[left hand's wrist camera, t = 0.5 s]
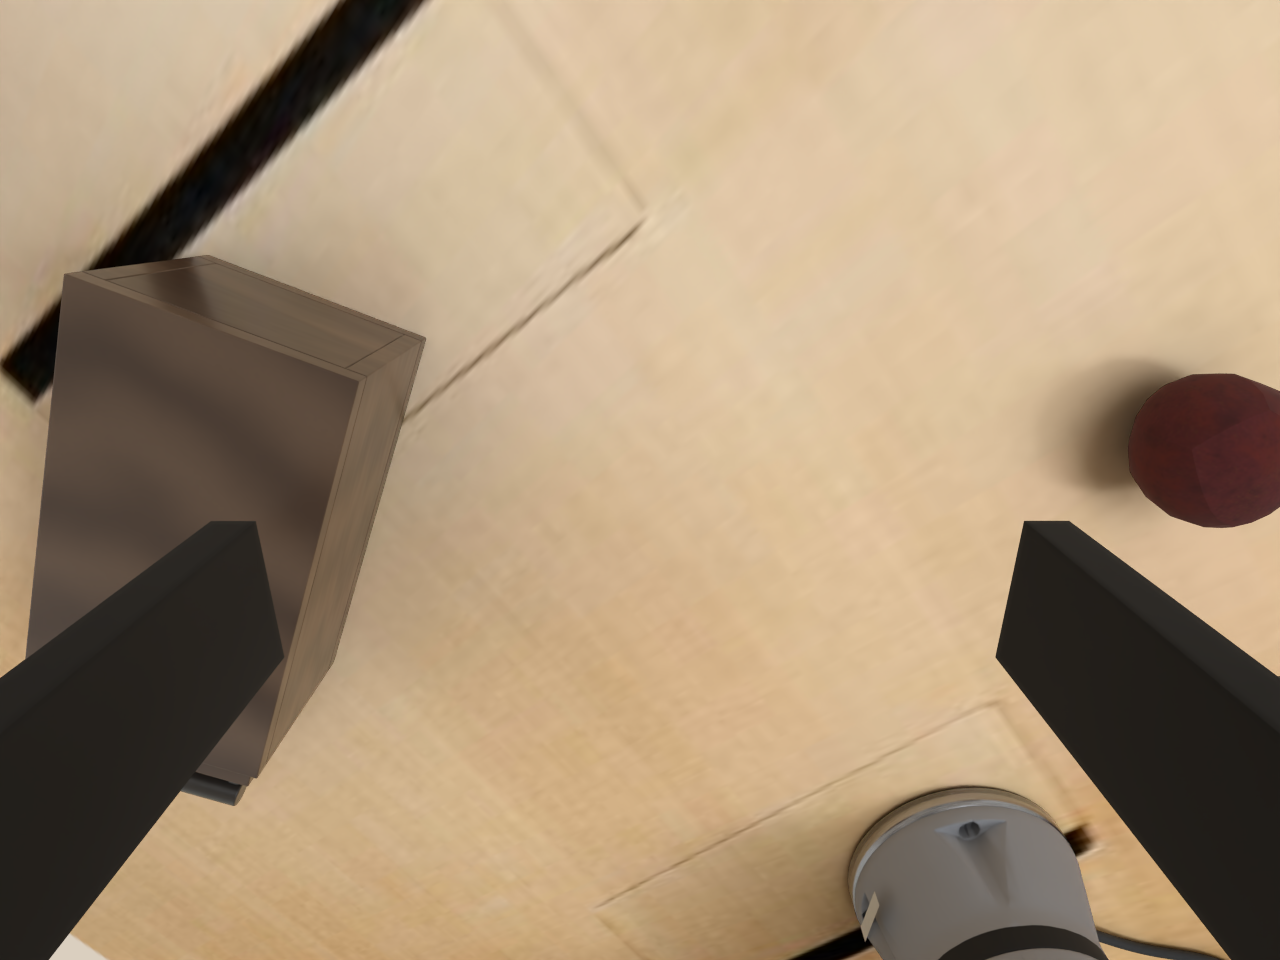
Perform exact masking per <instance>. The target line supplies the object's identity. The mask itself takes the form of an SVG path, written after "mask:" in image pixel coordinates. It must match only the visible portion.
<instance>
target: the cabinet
mask: <svg viewBox="0 0 1280 960" xmlns="http://www.w3.org/2000/svg"><path fill="white" fill-rule="evenodd" d="M425 341H426V338H425V337H423V336H420V335H417V334H415V333H412V332H409V331H407V330H404V329H402V328H399V327H396V326H394V325H391V324H388V323H386V322H383V321H380V320H378V319H375V318H373V317H370V316H367V315H365V314H362V313H359V312H357V311H354V310H352V309H349V308H346V307H344V306H341V305H338V304H336V303H333V302H330V301H328V300H325V299H323V298H320V297H317V296H315V295H312V294H309V293H307V292H304V291H301V290H299V289H296V288H294V287H291V286H288V285H286V284H283V283H280V282H278V281H275V280H272V279H270V278H267V277H265V276H262V275H259V274H257V273H254V272H251V271H249V270H246V269H244V268H241V267H238V266H236V265H233V264H230V263H228V262H225V261H222V260H220V259H217V258H215V257H212V256H209V255H205V256H198V257H190V258H182V259H174V260H167V261H159V262H151V263H144V264H136V265H128V266H121V267H113V268H106V269H98V270H90V271H83V272H75V273H67V274H64V281H63V291H62V301H61V311H60V321H59V331H58V341H57V351H56V360H55V370H54V380H53V390H52V400H51V410H50V420H49V430H48V440H47V450H46V460H45V470H44V480H43V490H42V500H41V510H40V520H39V529H38V539H37V549H36V559H35V569H34V579H33V589H32V599H31V609H30V619H29V629H28V639H27V649H26V659H27V658H28V657H29V656H31V655H32V654H33V653H35V652H36V651H37V650H39V649H40V648H41V647H43V646H44V645H45V644H47V643H48V642H49V641H51V640H52V639H53V638H55V637H56V636H57V635H59V634H60V633H61V632H63V631H64V630H65V629H67V628H68V627H69V626H71V625H72V624H73V623H75V622H76V621H77V620H79V619H80V618H82V617H83V616H84V615H86V614H87V613H88V612H90V611H91V610H92V609H94V608H95V607H96V606H98V605H99V604H100V603H102V602H103V601H104V600H106V599H107V598H108V597H110V596H111V595H112V594H114V593H115V592H116V591H118V590H119V589H120V588H122V587H123V586H124V585H126V584H127V583H128V582H130V581H131V580H132V579H134V578H135V577H137V576H138V575H139V574H141V573H142V572H143V571H145V570H146V569H147V568H149V567H150V566H151V565H153V564H154V563H155V562H157V561H158V560H159V559H161V558H162V557H163V556H165V555H166V554H167V553H169V552H170V551H171V550H173V549H174V548H175V547H177V546H178V545H179V544H181V543H182V542H183V541H185V540H186V539H187V538H189V537H190V536H192V535H193V534H194V533H196V532H197V531H198V530H200V529H201V528H202V527H204V526H205V525H206V524H208V523H209V522H210V521H256V524H257V529H258V534H259V538H260V543H261V548H262V553H263V557H264V562H265V567H266V572H267V576H268V581H269V586H270V591H271V595H272V600H273V605H274V610H275V614H276V619H277V624H278V629H279V633H280V638H281V643H282V648H283V652H284V659H283V660H282V661H281V662H280V664H279V665H278V666H277V668H276V669H275V670H274V671H273V673H272V674H271V675H270V676H269V678H268V679H267V680H266V682H265V683H264V684H263V685H262V687H261V688H260V689H259V691H258V692H257V693H256V694H255V696H254V697H253V698H252V700H251V701H250V702H249V703H248V705H247V706H246V707H245V709H244V710H243V711H242V712H241V714H240V715H239V716H238V718H237V719H236V720H235V721H234V723H233V724H232V725H231V727H230V728H229V729H228V730H227V732H226V733H225V734H224V735H223V737H222V738H221V739H220V741H219V742H218V743H217V744H216V746H215V747H214V748H213V750H212V751H211V752H210V753H209V755H208V756H207V757H206V759H205V760H204V761H203V762H202V763H204V764H208V765H211V766H214V767H218V768H221V769H225V770H228V771H232V772H235V773H239V774H242V775H246V776H249V777H253V778H257V777H258V776H259V774H260V773H261V771H262V770H263V768H264V767H265V765H266V764H267V762H268V761H269V759H270V758H271V756H272V755H273V753H274V752H275V750H276V749H277V747H278V746H279V744H280V743H281V741H282V740H283V738H284V737H285V735H286V733H287V732H288V730H289V729H290V727H291V726H292V724H293V723H294V721H295V720H296V718H297V717H298V715H299V714H300V712H301V711H302V709H303V708H304V706H305V705H306V703H307V702H308V700H309V699H310V697H311V696H312V694H313V693H314V691H315V690H316V688H317V687H318V685H319V684H320V682H321V681H322V679H323V678H324V676H325V675H326V673H327V671H328V670H329V669H330V667H331V665H332V664H333V662H334V659H335V656H336V652H337V649H338V645H339V642H340V638H341V635H342V631H343V628H344V624H345V621H346V617H347V614H348V610H349V607H350V603H351V600H352V596H353V593H354V589H355V586H356V582H357V579H358V575H359V572H360V568H361V565H362V561H363V558H364V554H365V551H366V547H367V544H368V540H369V537H370V533H371V530H372V526H373V523H374V519H375V516H376V512H377V509H378V505H379V502H380V498H381V495H382V491H383V488H384V484H385V481H386V477H387V474H388V470H389V467H390V463H391V460H392V456H393V453H394V449H395V446H396V442H397V439H398V435H399V432H400V428H401V425H402V421H403V418H404V414H405V411H406V407H407V404H408V400H409V397H410V393H411V390H412V386H413V383H414V379H415V376H416V372H417V369H418V365H419V362H420V358H421V355H422V351H423V348H424V344H425Z"/></svg>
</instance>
